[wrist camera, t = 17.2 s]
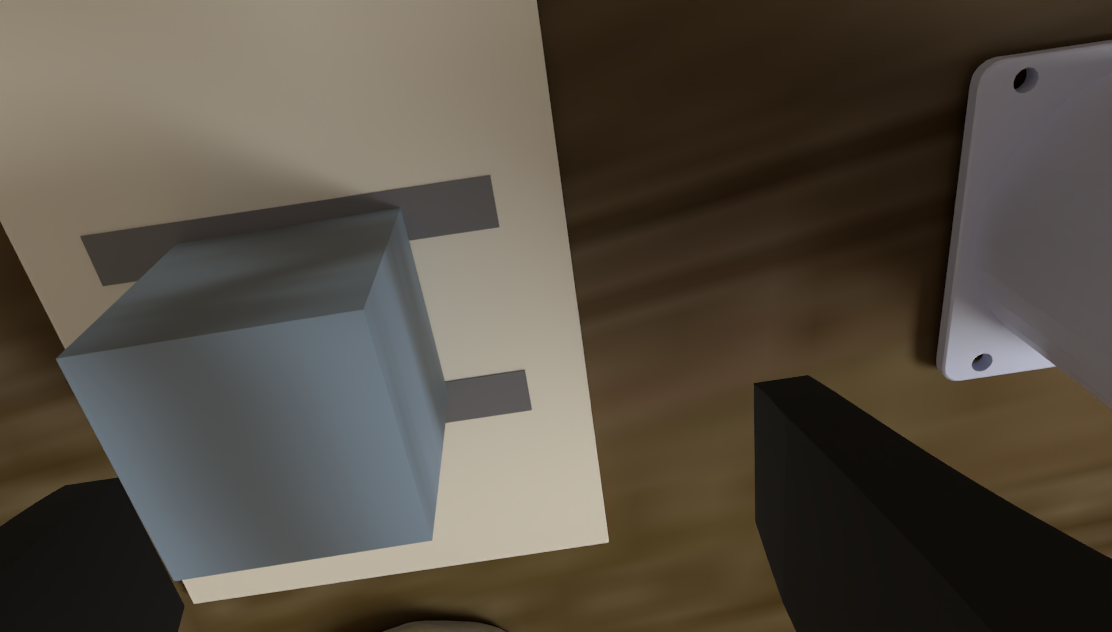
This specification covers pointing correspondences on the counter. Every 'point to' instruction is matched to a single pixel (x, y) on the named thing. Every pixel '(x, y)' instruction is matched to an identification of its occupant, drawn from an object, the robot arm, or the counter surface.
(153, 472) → the slate-blue cube
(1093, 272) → the robot arm
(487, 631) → the bread roll
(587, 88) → the counter surface
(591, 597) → the counter surface
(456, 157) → the letter board
